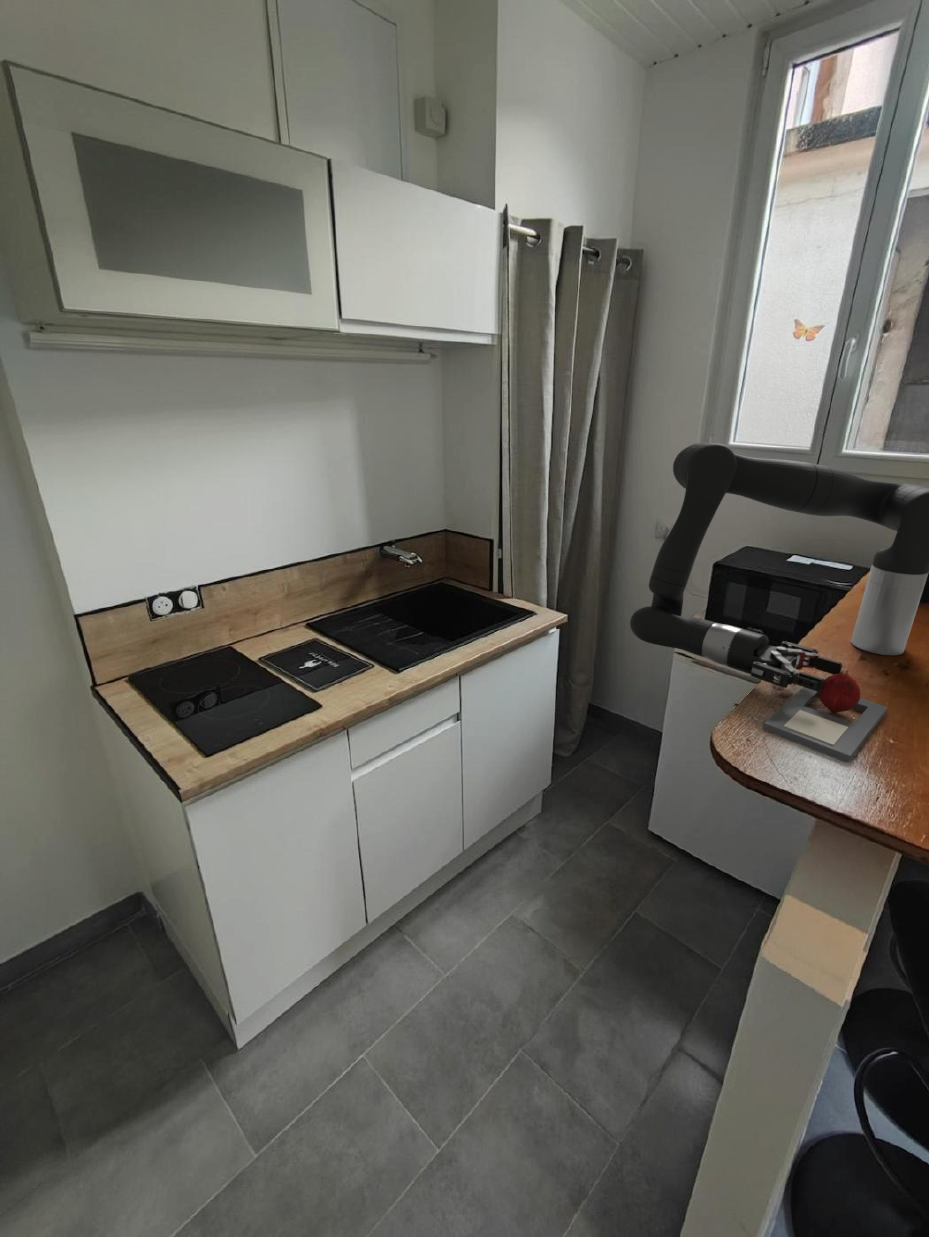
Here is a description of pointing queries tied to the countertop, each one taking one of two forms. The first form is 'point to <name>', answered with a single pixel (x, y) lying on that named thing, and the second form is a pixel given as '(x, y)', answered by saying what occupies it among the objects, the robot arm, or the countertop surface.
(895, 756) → the countertop surface
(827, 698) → the onion
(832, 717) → the tray
